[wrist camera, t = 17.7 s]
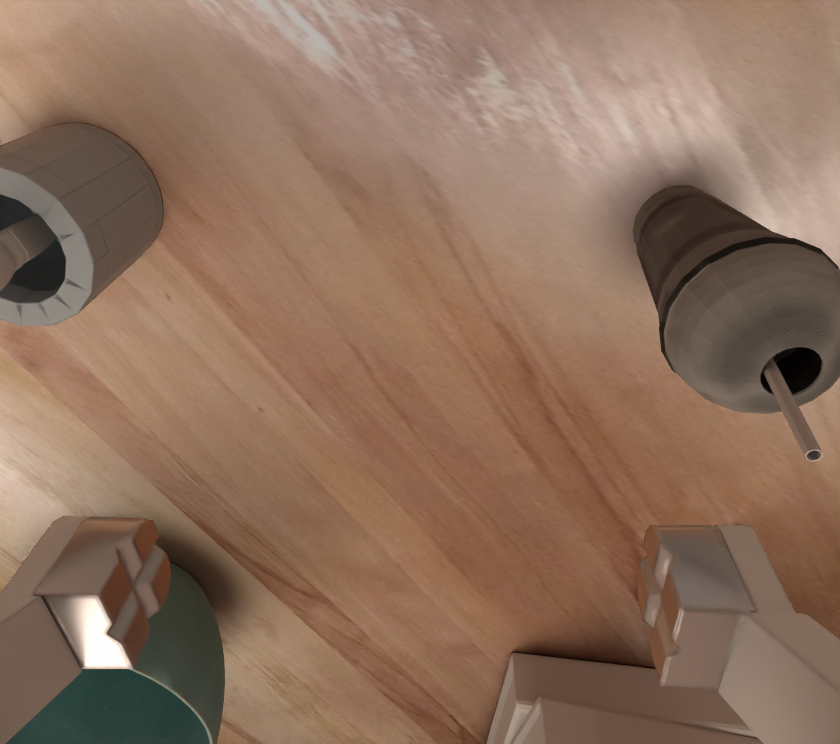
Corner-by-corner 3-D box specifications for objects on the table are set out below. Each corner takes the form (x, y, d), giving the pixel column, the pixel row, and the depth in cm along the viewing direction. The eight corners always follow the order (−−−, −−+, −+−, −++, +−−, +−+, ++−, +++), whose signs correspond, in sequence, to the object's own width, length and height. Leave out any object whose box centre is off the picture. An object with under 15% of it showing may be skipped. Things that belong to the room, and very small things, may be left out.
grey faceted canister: (0, 125, 36) (-117, 167, 28) (141, 118, 35) (57, 159, 28) (52, 262, 40) (-38, 328, 33) (178, 258, 39) (114, 324, 32)
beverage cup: (733, 279, 38) (950, 535, 21) (605, 290, 39) (715, 544, 22) (752, 152, 34) (1035, 338, 17) (610, 167, 35) (746, 359, 18)
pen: (91, 170, 36) (-95, 274, 24) (120, 214, 37) (-43, 333, 25) (55, 187, 36) (-144, 296, 24) (85, 230, 37) (-90, 353, 26)
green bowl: (18, 593, 57) (-81, 732, 47) (97, 475, 49) (-1, 612, 39) (199, 677, 63) (147, 818, 52) (299, 582, 54) (260, 728, 44)
